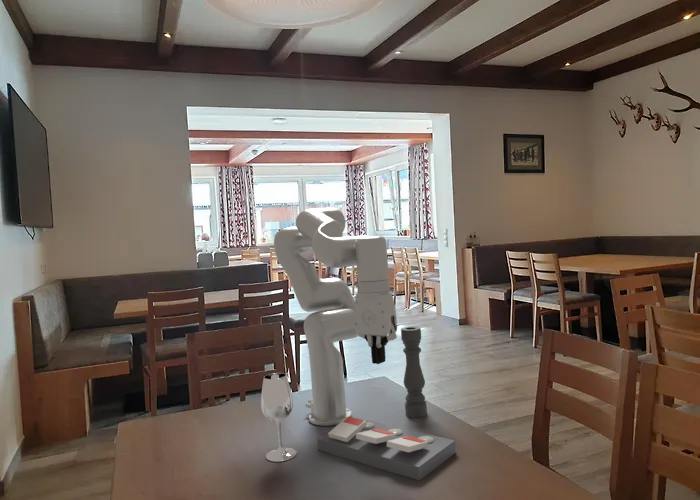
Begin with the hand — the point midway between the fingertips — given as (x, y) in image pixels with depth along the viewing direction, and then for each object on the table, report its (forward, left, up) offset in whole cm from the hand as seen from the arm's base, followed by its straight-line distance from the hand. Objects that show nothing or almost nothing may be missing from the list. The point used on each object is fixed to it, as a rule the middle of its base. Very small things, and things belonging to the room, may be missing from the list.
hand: (378, 362), depth 128 cm
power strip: (-2, 0, -22) cm, 22 cm away
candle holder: (-7, +25, -22) cm, 34 cm away
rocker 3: (+9, -3, -17) cm, 20 cm away
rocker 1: (-9, -3, -17) cm, 20 cm away
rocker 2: (0, -3, -17) cm, 17 cm away
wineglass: (-21, -15, -22) cm, 34 cm away
